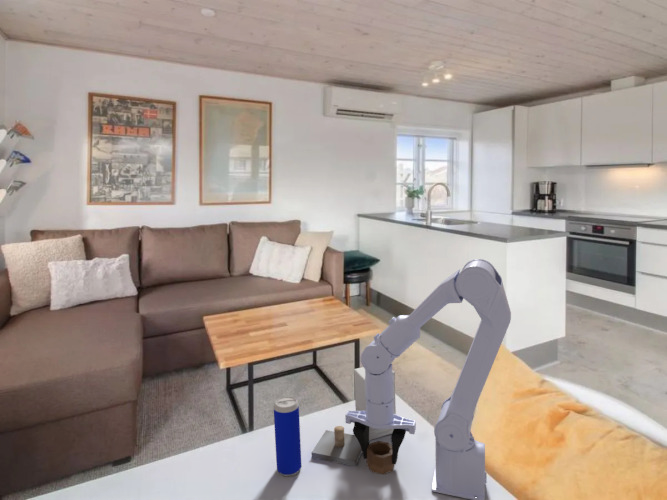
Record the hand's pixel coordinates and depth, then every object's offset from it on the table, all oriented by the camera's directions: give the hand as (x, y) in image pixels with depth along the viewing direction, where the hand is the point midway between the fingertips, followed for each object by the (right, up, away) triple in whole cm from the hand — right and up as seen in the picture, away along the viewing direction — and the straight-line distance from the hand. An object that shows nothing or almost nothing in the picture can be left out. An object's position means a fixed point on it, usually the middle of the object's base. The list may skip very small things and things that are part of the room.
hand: (380, 458), depth 85 cm
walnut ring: (0, -1, 0) cm, 1 cm away
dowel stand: (-9, -1, +6) cm, 10 cm away
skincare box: (0, 0, +13) cm, 13 cm away
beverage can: (-19, -2, 0) cm, 19 cm away
